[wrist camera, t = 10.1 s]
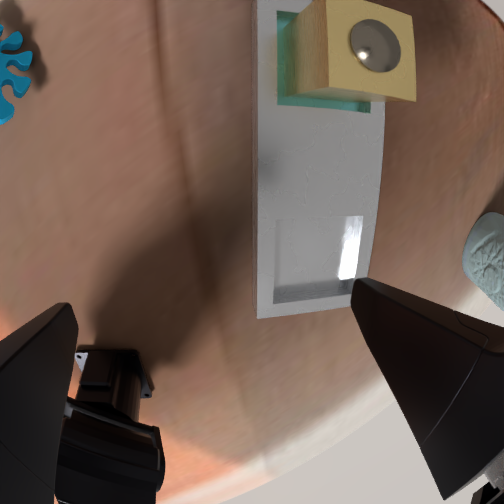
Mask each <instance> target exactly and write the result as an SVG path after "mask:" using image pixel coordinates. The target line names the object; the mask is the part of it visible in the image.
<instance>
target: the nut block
mask: <svg viewBox="0 0 504 504" xmlns="http://www.w3.org/2000/svg"><path fill="white" fill-rule="evenodd" d="M283 38H284V97H297V98H312V99H323V100H334V101H343V102H351V103H357V102H416V65H415V47H414V34H413V24H412V16H410V15H407V14H404V13H402V12H399V11H396V10H393V9H390V8H387V7H384V6H381V5H378V4H375V3H371V2H368V1H365V0H314V1H313V2H311V3H310V4H309V5H308V6H307V7H306V8H305V9H303V10H302V11H301V12H300V13H299V14H298V15H297V16H296V17H295V18H294V19H293V20H291V21H290V22H289V23H288V24H287V25H286V26H285V27H284V28H283Z"/></svg>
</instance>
